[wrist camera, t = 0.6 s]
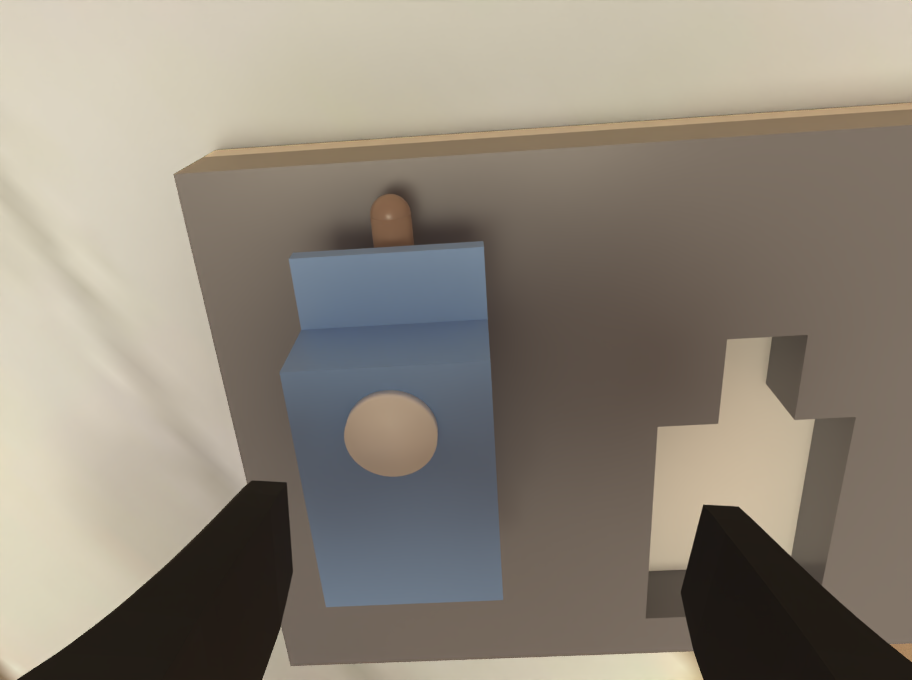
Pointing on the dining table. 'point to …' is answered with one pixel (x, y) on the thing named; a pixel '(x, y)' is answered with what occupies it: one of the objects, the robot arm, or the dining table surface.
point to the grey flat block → (611, 358)
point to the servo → (396, 417)
